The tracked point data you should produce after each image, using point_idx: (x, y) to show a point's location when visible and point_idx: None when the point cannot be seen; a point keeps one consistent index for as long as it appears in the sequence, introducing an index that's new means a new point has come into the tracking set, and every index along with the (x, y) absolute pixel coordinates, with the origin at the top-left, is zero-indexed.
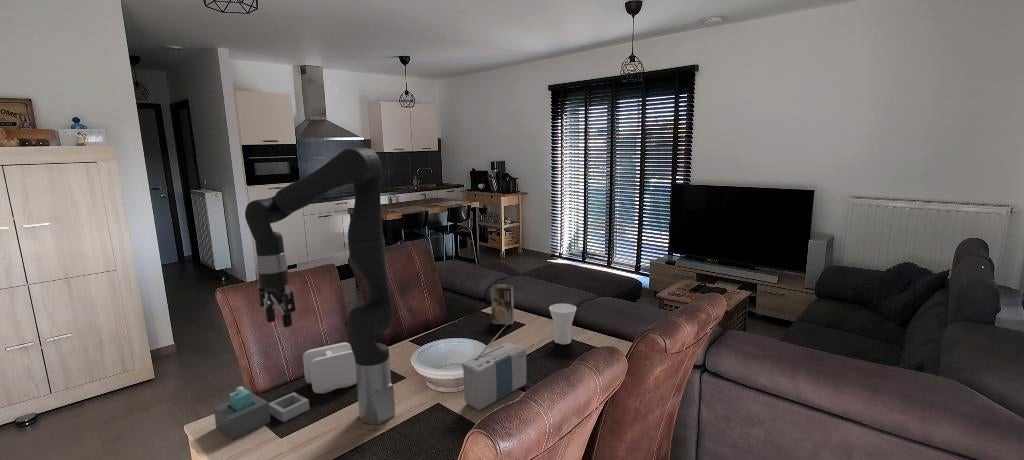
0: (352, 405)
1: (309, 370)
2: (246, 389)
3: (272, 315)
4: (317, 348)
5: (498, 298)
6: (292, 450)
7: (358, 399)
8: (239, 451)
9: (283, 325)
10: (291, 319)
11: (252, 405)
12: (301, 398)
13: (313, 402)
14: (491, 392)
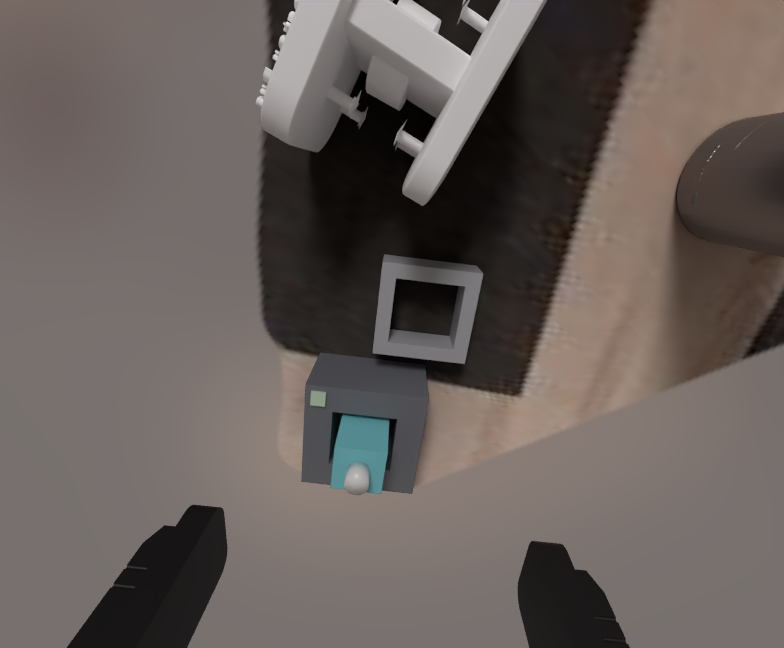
0: (605, 173)
1: (319, 132)
2: (352, 448)
3: (189, 590)
4: (295, 36)
5: None
6: (590, 415)
7: (759, 248)
8: (468, 466)
9: (525, 615)
10: (590, 607)
11: (398, 430)
12: (450, 279)
13: (451, 227)
14: None
